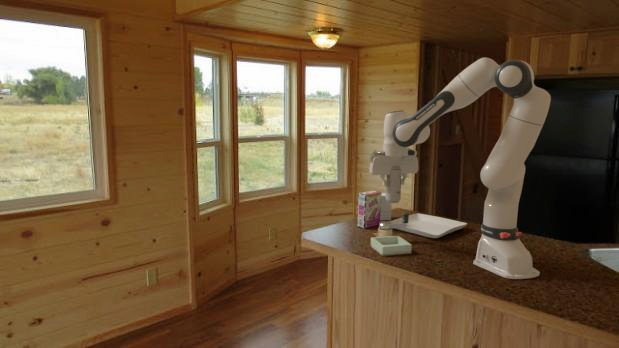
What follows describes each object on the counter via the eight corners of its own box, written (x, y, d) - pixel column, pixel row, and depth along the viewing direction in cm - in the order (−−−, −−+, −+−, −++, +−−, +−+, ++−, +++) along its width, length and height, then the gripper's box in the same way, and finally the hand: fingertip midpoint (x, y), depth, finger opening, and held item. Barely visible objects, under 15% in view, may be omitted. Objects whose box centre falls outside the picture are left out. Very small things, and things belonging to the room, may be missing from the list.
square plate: (468, 230, 197) (468, 222, 196) (437, 243, 178) (437, 234, 178) (417, 219, 216) (417, 211, 216) (384, 229, 198) (384, 221, 197)
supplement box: (389, 216, 219) (390, 192, 217) (391, 220, 211) (392, 195, 209) (375, 216, 219) (376, 192, 217) (376, 220, 212) (376, 195, 210)
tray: (411, 253, 165) (411, 244, 165) (382, 255, 162) (382, 247, 162) (397, 243, 177) (398, 235, 176) (370, 245, 174) (370, 237, 173)
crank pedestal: (394, 243, 177) (394, 230, 176) (381, 244, 176) (381, 231, 175) (381, 233, 191) (381, 221, 190) (368, 234, 189) (368, 222, 188)
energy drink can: (400, 203, 172) (401, 167, 169) (385, 202, 173) (386, 166, 171) (400, 200, 178) (401, 164, 175) (385, 199, 179) (386, 164, 176)
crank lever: (381, 230, 176) (382, 216, 175) (377, 226, 180) (377, 213, 180) (411, 228, 178) (411, 214, 177) (406, 225, 183) (406, 211, 182)
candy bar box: (364, 229, 197) (365, 194, 194) (356, 227, 200) (357, 192, 198) (380, 225, 204) (381, 191, 201) (372, 222, 207) (373, 189, 205)
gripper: (372, 152, 167) (372, 187, 169) (420, 151, 171) (419, 185, 173) (367, 151, 173) (366, 184, 175) (413, 149, 177) (412, 182, 180)
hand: (393, 185), depth 174 cm, fingers closed on energy drink can, 6 cm apart
